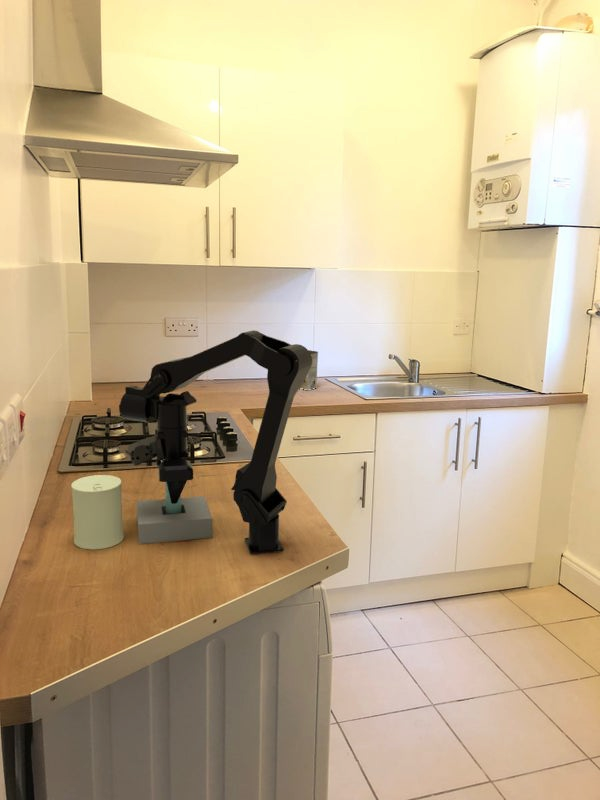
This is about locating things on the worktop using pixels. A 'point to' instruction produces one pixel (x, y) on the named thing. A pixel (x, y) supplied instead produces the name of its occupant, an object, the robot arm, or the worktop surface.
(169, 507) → the peg
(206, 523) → the hole block
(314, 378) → the coffee box
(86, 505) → the can
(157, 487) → the worktop surface
